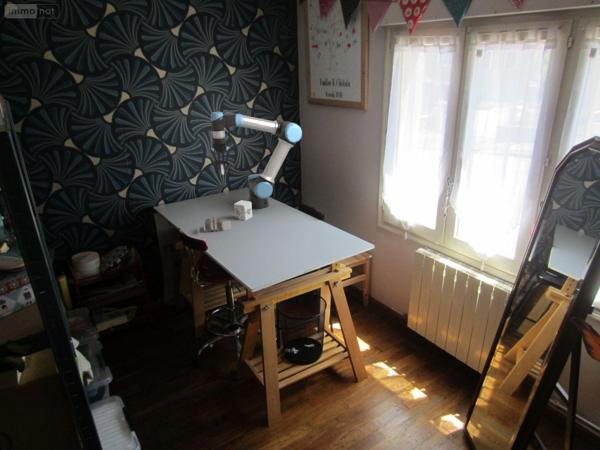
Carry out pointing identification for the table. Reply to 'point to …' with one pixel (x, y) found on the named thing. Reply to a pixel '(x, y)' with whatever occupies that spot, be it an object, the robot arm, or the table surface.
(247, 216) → the ink box
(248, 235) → the table surface
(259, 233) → the table surface
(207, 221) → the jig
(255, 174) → the robot arm
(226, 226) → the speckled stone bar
